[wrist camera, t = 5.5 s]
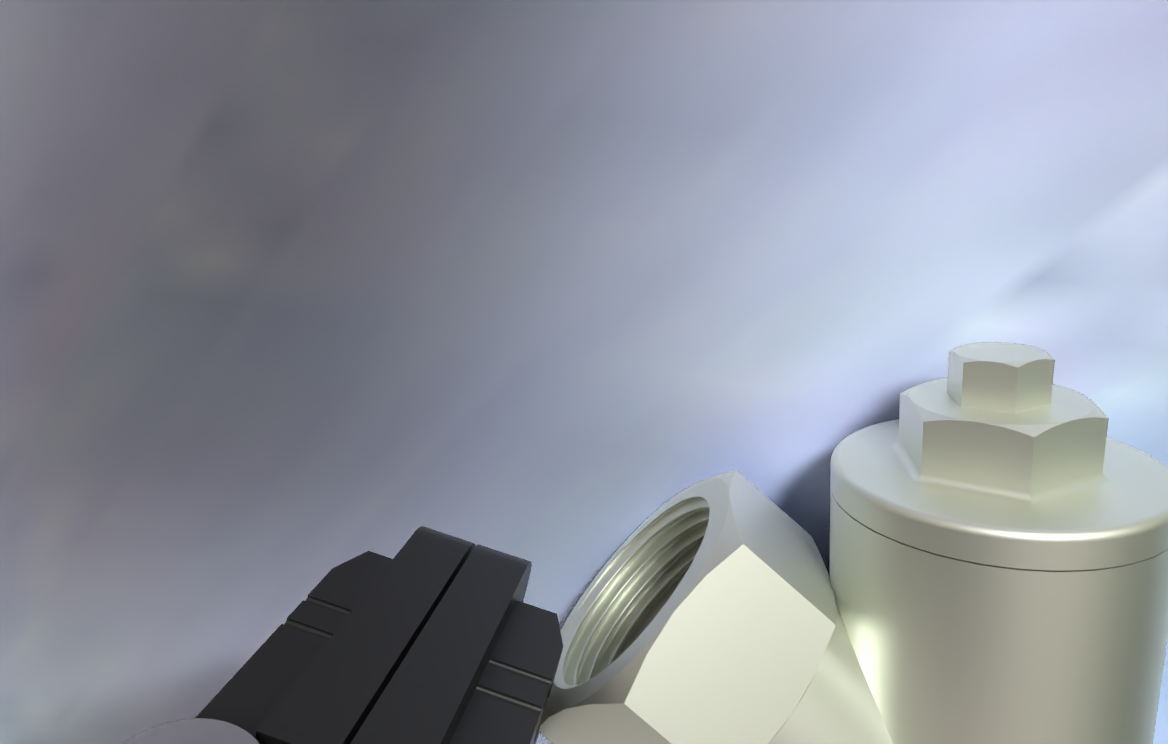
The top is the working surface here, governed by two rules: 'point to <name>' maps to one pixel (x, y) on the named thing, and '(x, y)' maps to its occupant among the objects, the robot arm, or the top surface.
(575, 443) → the top surface
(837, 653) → the pipe fitting
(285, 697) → the robot arm
